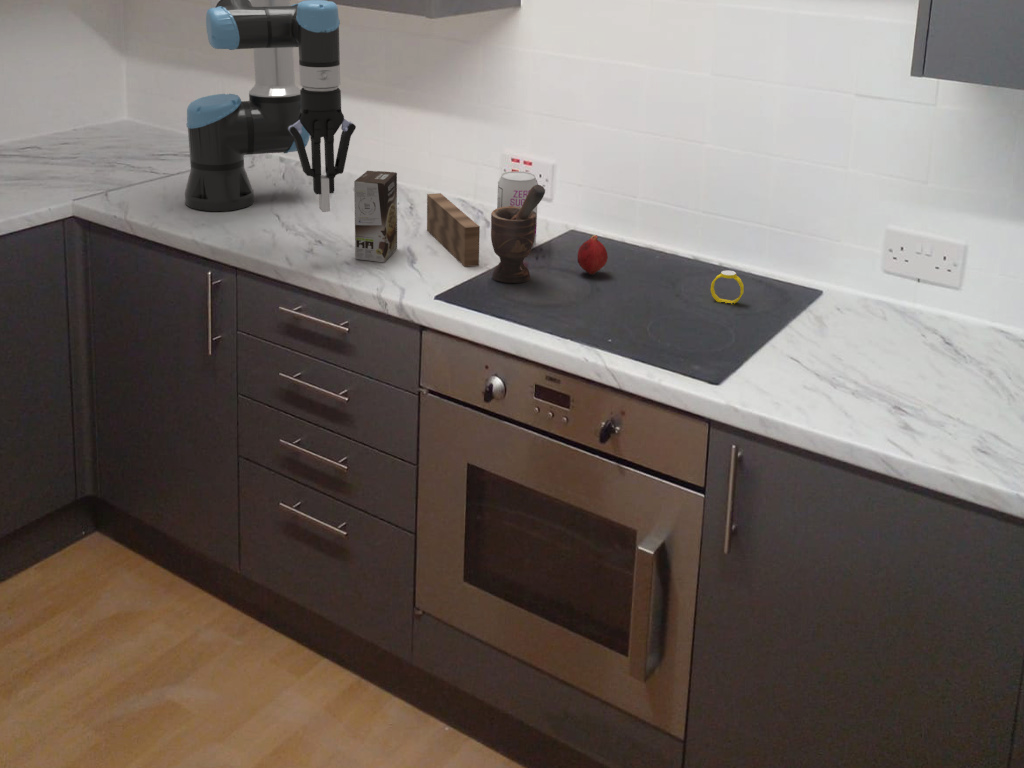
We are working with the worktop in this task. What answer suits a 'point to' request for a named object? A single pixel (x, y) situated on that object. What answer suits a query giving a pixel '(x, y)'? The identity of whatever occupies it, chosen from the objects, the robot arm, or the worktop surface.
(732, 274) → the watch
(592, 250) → the onion
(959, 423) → the worktop surface
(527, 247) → the mortar and pestle
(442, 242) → the wooden board
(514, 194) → the supplement can
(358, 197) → the coffee box
